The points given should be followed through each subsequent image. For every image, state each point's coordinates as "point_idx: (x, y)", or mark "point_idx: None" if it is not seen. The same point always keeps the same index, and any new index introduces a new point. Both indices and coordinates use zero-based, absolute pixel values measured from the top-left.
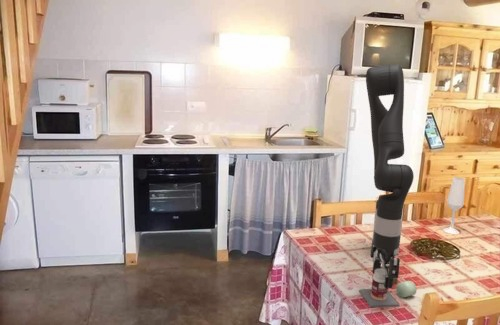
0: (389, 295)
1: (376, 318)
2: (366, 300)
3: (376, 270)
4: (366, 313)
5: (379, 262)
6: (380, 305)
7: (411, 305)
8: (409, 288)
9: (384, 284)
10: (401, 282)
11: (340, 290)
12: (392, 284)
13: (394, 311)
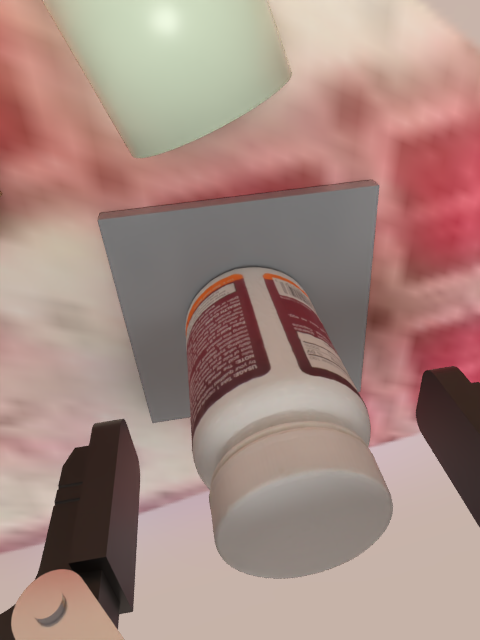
0: (225, 229)
1: (474, 370)
2: None
3: (277, 568)
4: (414, 408)
5: (104, 587)
6: (364, 331)
7: (373, 42)
8: (264, 20)
9: (433, 447)
10: (155, 114)
11: (158, 496)
12: (477, 393)
13: (432, 243)
